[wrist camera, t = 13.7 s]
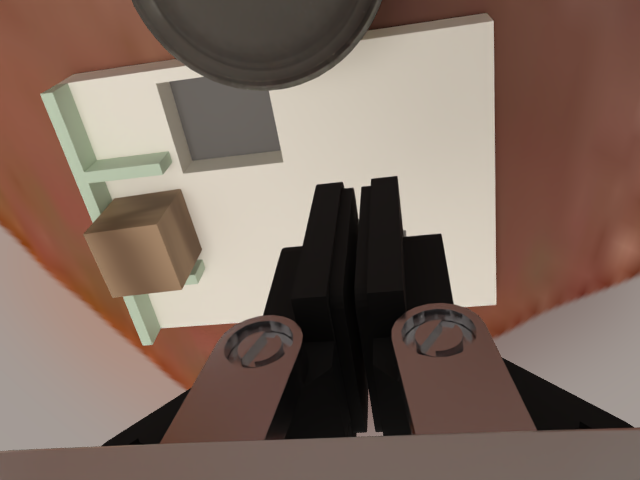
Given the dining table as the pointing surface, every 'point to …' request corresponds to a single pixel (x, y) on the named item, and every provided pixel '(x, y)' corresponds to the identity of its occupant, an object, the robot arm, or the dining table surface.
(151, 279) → the walnut block
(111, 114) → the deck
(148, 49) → the dining table surface
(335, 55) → the coffee can
